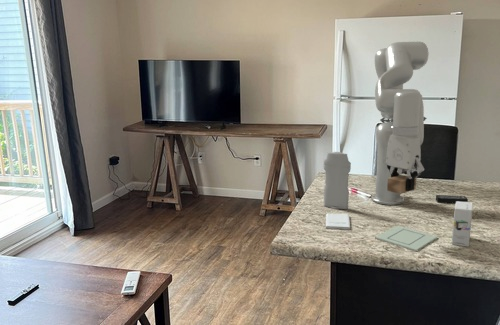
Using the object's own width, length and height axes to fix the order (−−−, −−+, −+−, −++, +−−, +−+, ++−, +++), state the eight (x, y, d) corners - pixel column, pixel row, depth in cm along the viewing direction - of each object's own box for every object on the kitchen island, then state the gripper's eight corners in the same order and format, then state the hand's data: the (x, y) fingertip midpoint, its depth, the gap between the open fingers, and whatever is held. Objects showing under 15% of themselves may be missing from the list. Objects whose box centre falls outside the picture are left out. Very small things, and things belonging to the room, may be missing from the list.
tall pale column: (320, 206, 174) (321, 151, 169) (324, 203, 178) (325, 149, 172) (347, 210, 169) (349, 154, 164) (350, 207, 173) (352, 151, 167)
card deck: (387, 190, 142) (387, 177, 141) (402, 186, 146) (402, 173, 146) (400, 193, 138) (401, 180, 137) (415, 189, 143) (416, 176, 142)
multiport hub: (435, 200, 180) (435, 194, 180) (464, 201, 178) (465, 195, 178) (437, 203, 176) (438, 198, 176) (467, 205, 174) (468, 199, 173)
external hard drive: (348, 218, 163) (350, 231, 151) (326, 217, 165) (325, 230, 153) (349, 214, 163) (350, 226, 151) (326, 213, 164) (325, 225, 152)
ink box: (452, 234, 145) (455, 200, 143) (469, 237, 143) (472, 202, 140) (451, 244, 138) (454, 208, 135) (469, 247, 136) (472, 210, 133)
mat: (397, 226, 153) (397, 225, 153) (437, 238, 143) (437, 236, 143) (374, 238, 144) (375, 236, 143) (416, 251, 134) (416, 249, 133)
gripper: (375, 129, 144) (373, 183, 148) (419, 136, 129) (415, 196, 133) (392, 127, 147) (389, 180, 151) (437, 133, 133) (432, 192, 137)
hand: (402, 187), depth 142 cm, fingers closed on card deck, 5 cm apart
